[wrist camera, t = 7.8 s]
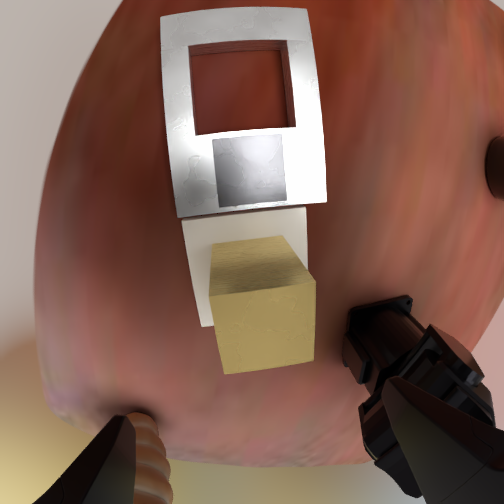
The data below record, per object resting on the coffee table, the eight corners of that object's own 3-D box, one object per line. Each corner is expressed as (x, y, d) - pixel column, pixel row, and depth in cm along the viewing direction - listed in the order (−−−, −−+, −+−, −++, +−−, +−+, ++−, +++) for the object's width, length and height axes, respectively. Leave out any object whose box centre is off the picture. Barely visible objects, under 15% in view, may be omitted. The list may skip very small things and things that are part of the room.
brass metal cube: (282, 235, 19) (315, 282, 12) (285, 296, 20) (313, 360, 14) (212, 243, 18) (208, 296, 12) (221, 305, 20) (224, 374, 13)
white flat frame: (298, 20, 14) (306, 8, 12) (316, 196, 19) (327, 202, 17) (165, 28, 14) (160, 16, 12) (182, 211, 18) (177, 218, 16)
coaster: (302, 205, 19) (305, 207, 18) (304, 307, 22) (307, 312, 21) (183, 218, 18) (181, 221, 17) (202, 321, 21) (201, 327, 20)
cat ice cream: (154, 443, 27) (145, 571, 10) (97, 414, 24) (64, 547, 7) (194, 415, 25) (196, 577, 8) (127, 380, 23) (89, 556, 6)
